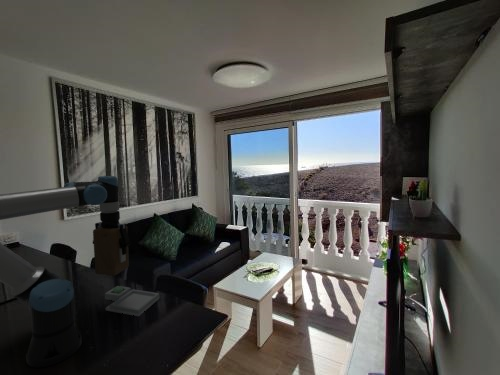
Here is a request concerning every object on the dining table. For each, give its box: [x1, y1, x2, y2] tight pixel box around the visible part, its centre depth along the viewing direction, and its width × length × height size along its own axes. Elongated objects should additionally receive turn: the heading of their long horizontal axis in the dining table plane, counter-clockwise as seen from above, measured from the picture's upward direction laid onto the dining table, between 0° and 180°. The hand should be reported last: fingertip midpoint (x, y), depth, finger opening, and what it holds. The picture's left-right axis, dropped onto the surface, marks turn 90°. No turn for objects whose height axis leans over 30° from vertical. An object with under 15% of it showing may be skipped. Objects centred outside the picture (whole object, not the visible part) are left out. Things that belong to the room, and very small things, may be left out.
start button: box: [113, 285, 124, 294], centre depth 123 cm, size 4×4×3 cm
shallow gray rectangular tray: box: [105, 288, 160, 317], centre depth 116 cm, size 15×17×3 cm
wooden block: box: [92, 225, 130, 276], centre depth 111 cm, size 10×10×20 cm
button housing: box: [104, 285, 132, 302], centre depth 123 cm, size 8×8×3 cm
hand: (112, 260), depth 112 cm, fingers closed on wooden block, 10 cm apart
